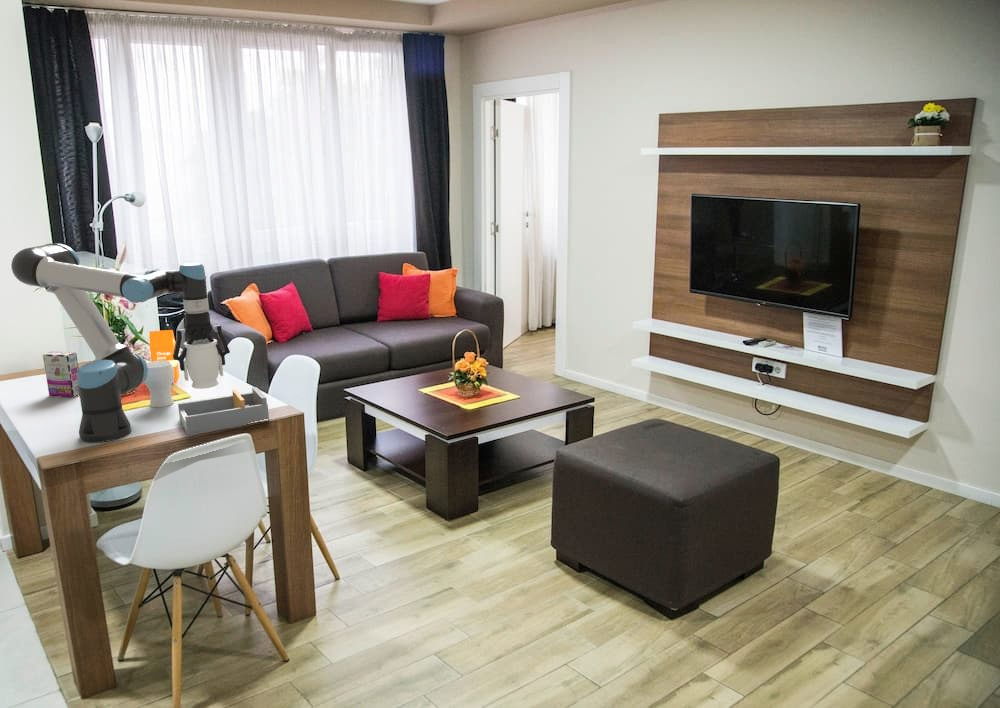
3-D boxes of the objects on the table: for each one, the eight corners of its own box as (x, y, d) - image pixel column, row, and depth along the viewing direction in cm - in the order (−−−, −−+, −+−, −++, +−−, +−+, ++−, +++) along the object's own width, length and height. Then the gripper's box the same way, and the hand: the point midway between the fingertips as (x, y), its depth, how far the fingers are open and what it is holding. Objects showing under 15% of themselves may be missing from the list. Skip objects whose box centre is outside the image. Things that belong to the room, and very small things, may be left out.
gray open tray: (187, 435, 261) (185, 411, 259) (179, 420, 276) (177, 397, 274) (269, 421, 273) (267, 398, 271) (257, 407, 288) (255, 386, 286)
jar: (210, 390, 263) (205, 345, 259) (182, 389, 265) (176, 344, 261) (227, 381, 273) (223, 338, 269) (200, 380, 275) (195, 337, 271)
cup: (139, 406, 291) (134, 366, 287) (163, 398, 300) (158, 359, 297) (160, 410, 287) (155, 369, 283) (184, 401, 296) (179, 362, 292)
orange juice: (156, 377, 328) (150, 329, 323) (179, 375, 330) (174, 327, 325) (153, 383, 320) (147, 333, 315) (177, 381, 323) (171, 331, 318)
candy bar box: (83, 394, 307) (77, 352, 303) (73, 398, 302) (67, 355, 298) (58, 392, 309) (52, 350, 305) (48, 396, 305) (41, 354, 301)
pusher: (242, 420, 271) (240, 400, 269) (234, 409, 282) (232, 390, 280) (255, 418, 273) (253, 398, 271) (246, 407, 284) (244, 388, 282)
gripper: (160, 317, 254) (168, 385, 260) (235, 309, 265) (241, 374, 270) (157, 313, 261) (165, 379, 266) (230, 305, 271) (237, 369, 277)
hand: (204, 377), depth 268 cm, fingers closed on jar, 10 cm apart
